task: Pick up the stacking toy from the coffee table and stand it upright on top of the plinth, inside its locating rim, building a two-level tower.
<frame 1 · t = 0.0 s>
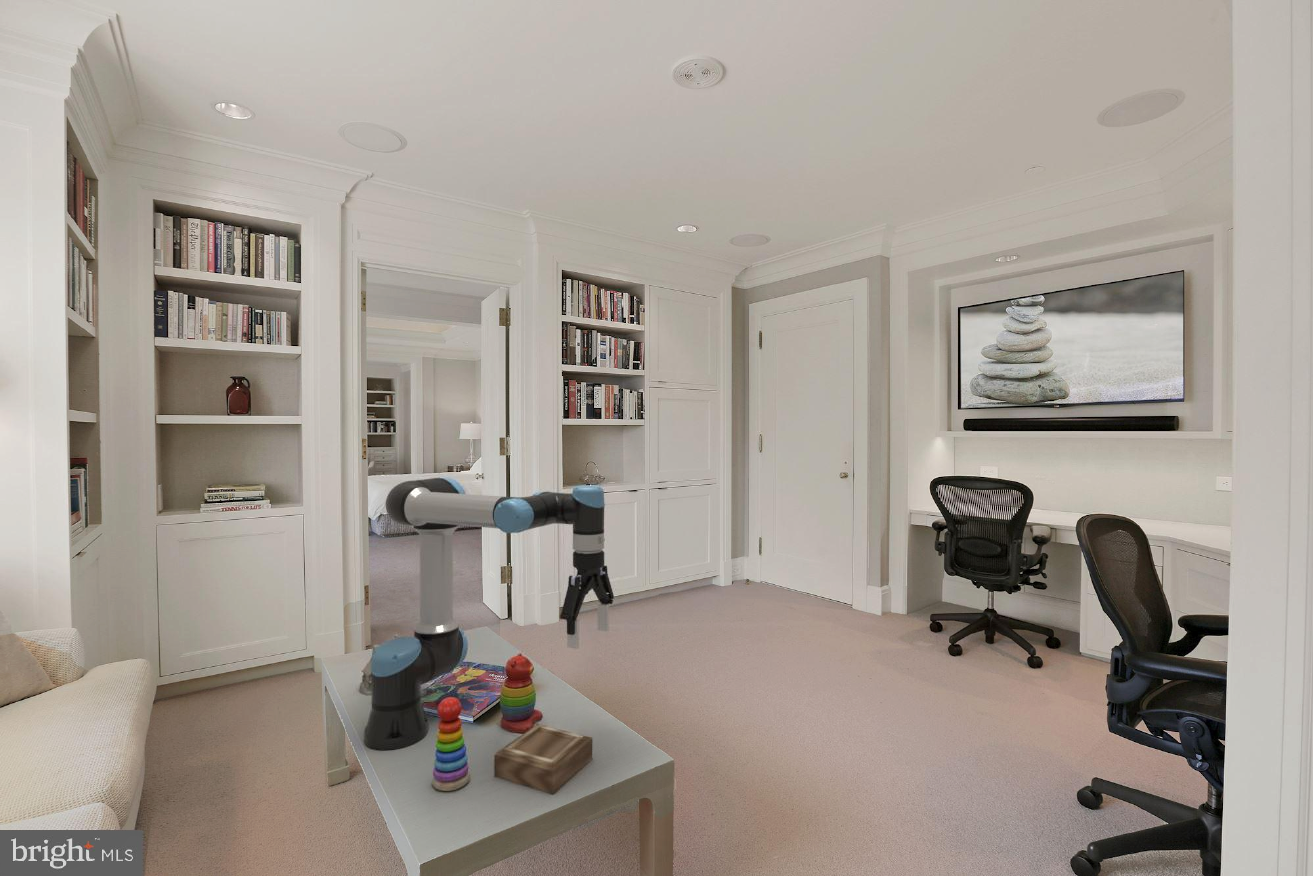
hand: (588, 638, 149), 28 cm above the table, fingers open, 13 cm apart
stacking toy: (451, 783, 138), on the table
ceramic cottage: (390, 689, 188), on the table
plinth: (544, 767, 144), on the table
stacking bear: (519, 723, 166), on the table
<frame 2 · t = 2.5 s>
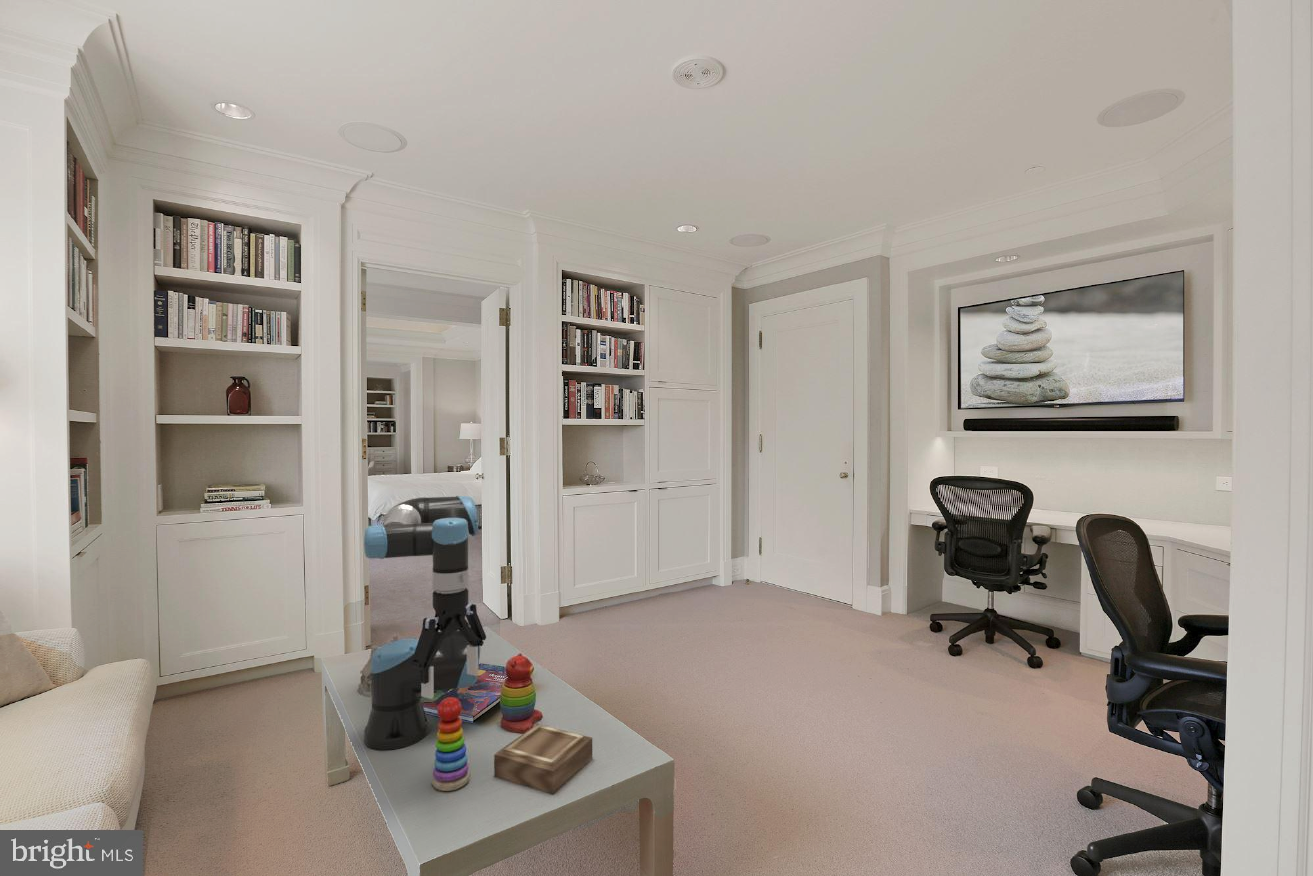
hand: (451, 685, 137), 22 cm above the table, fingers open, 13 cm apart
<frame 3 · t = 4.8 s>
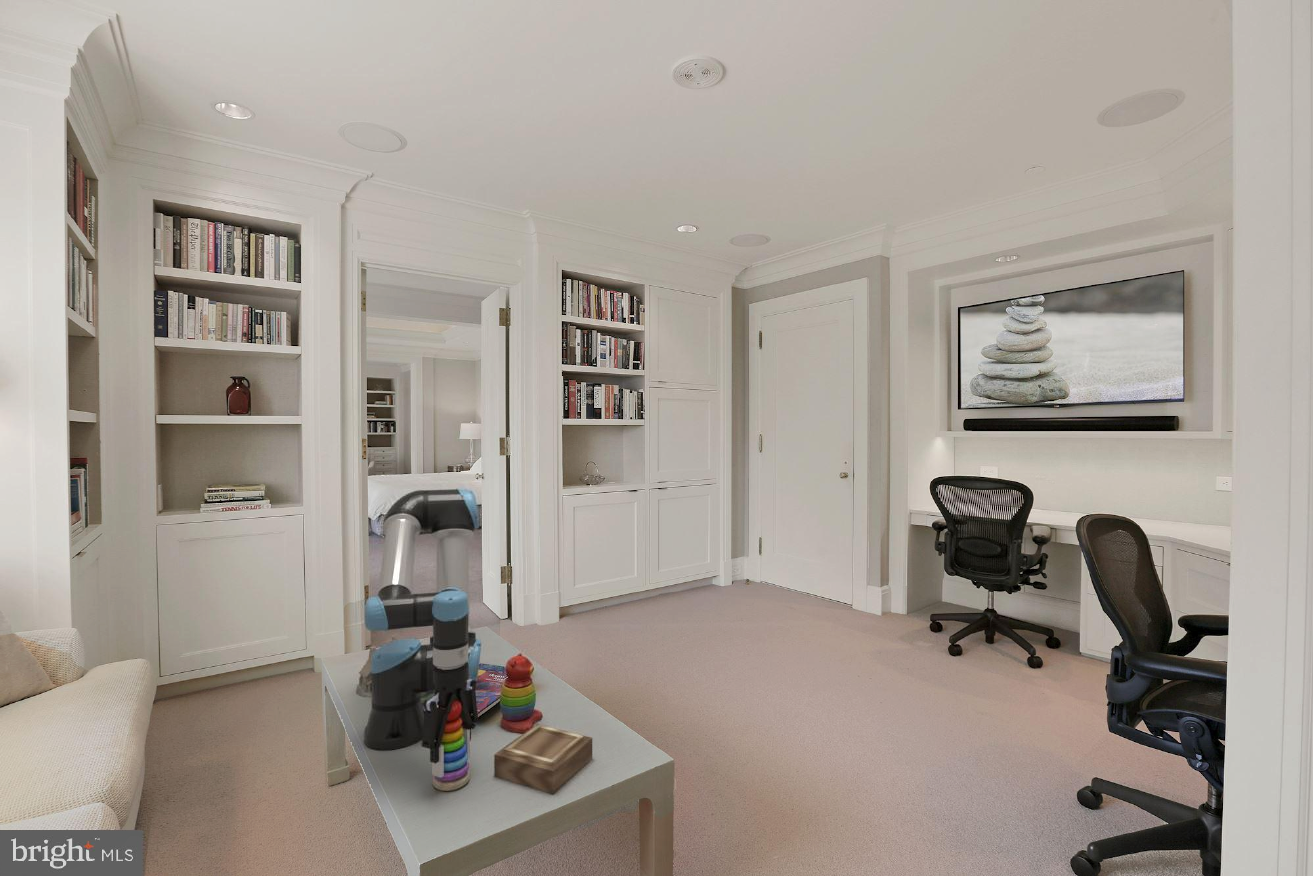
hand: (451, 766, 138), 4 cm above the table, fingers closed on stacking toy, 7 cm apart
stacking toy: (451, 783, 138), on the table, touching gripper
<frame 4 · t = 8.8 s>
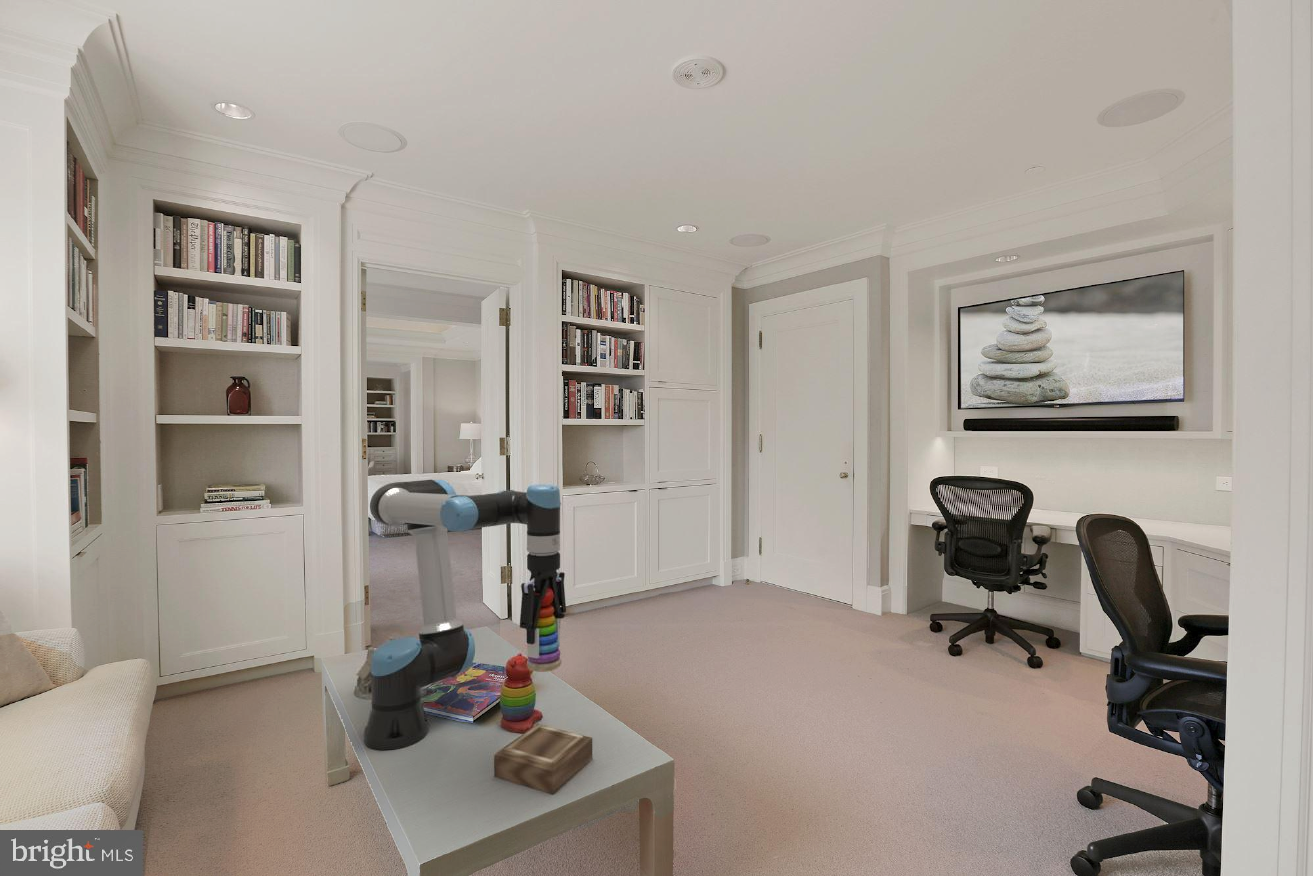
hand: (543, 651, 143), 27 cm above the table, fingers closed on stacking toy, 7 cm apart
stacking toy: (544, 667, 144), point 23 cm above the table, touching gripper
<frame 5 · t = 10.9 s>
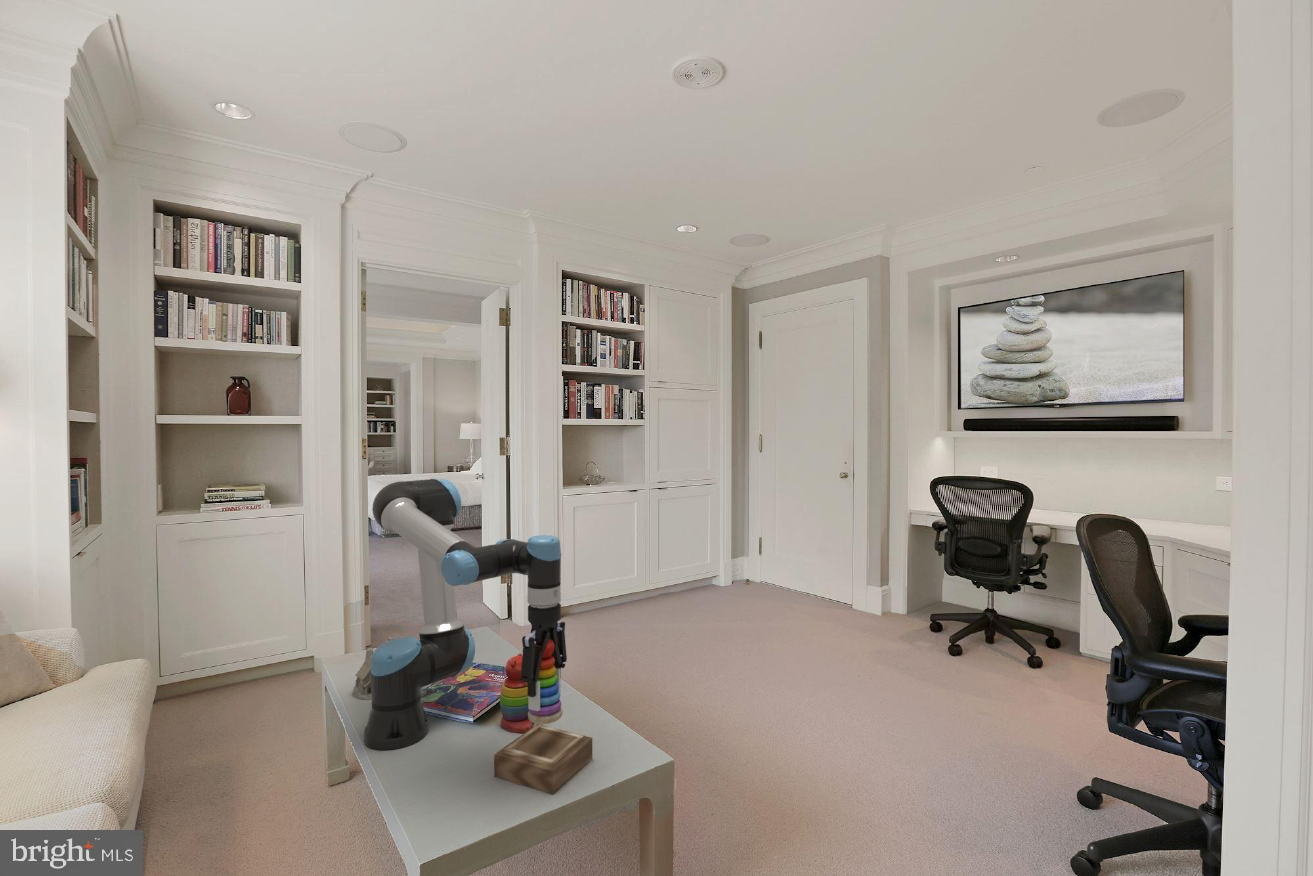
hand: (544, 702, 144), 15 cm above the table, fingers closed on stacking toy, 7 cm apart
stacking toy: (545, 718, 144), point 11 cm above the table, touching gripper
when the fingers open (10 cm above the table, at t = 12.8 s): stacking toy drops 1 cm, resting on plinth.
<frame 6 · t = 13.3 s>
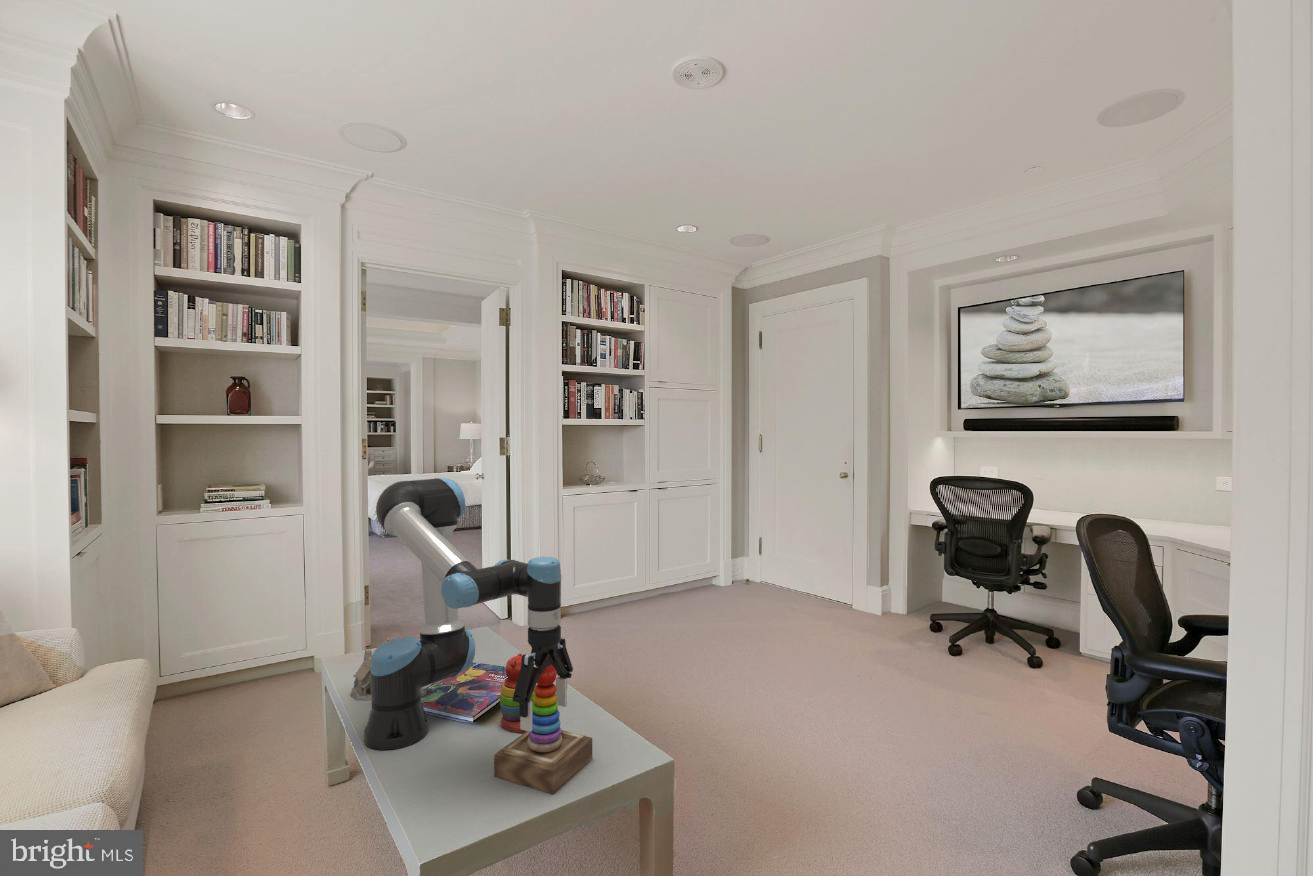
hand: (544, 717, 144), 12 cm above the table, fingers open, 13 cm apart
stacking toy: (544, 745, 144), point 5 cm above the table, touching plinth
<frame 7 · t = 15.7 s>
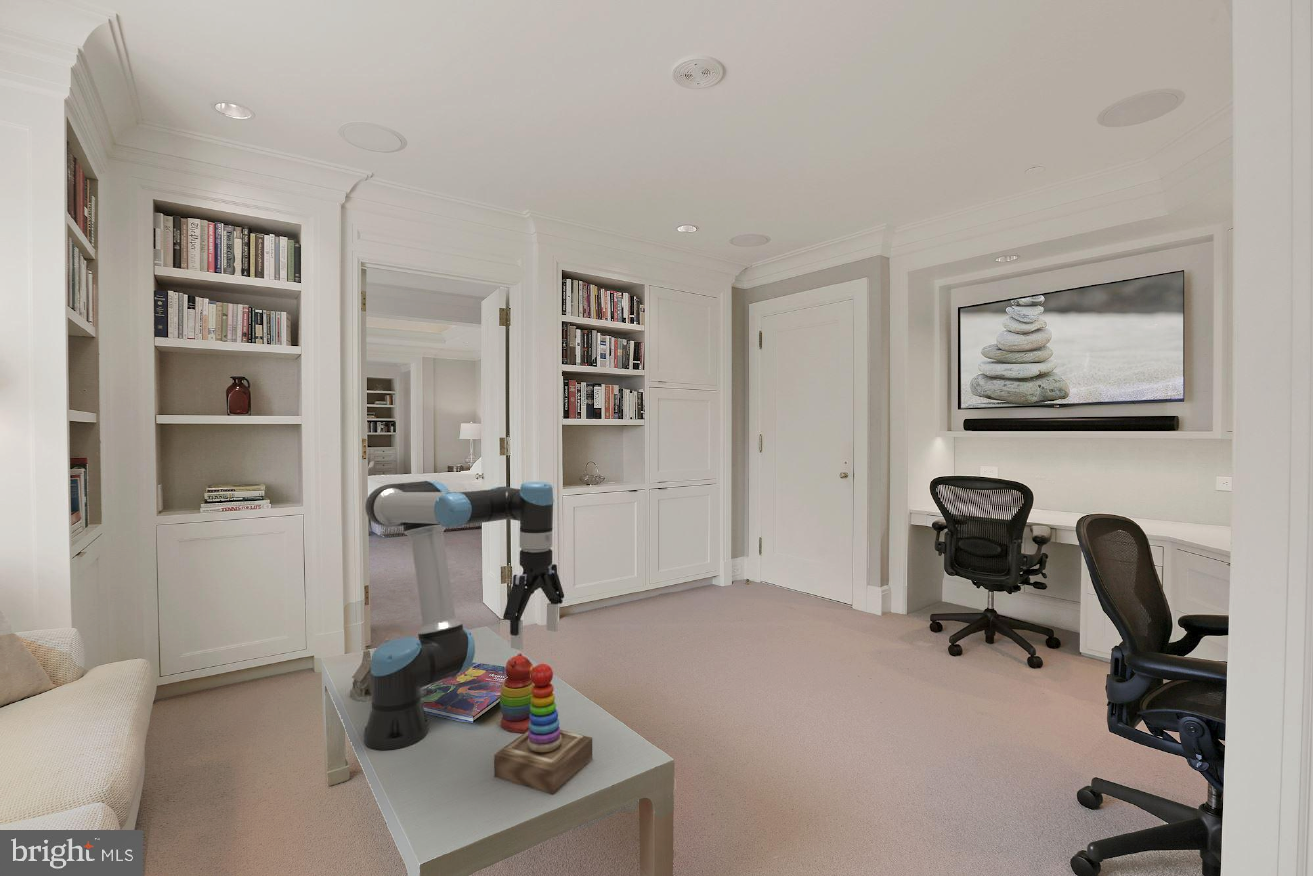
hand: (535, 639, 145), 29 cm above the table, fingers open, 13 cm apart
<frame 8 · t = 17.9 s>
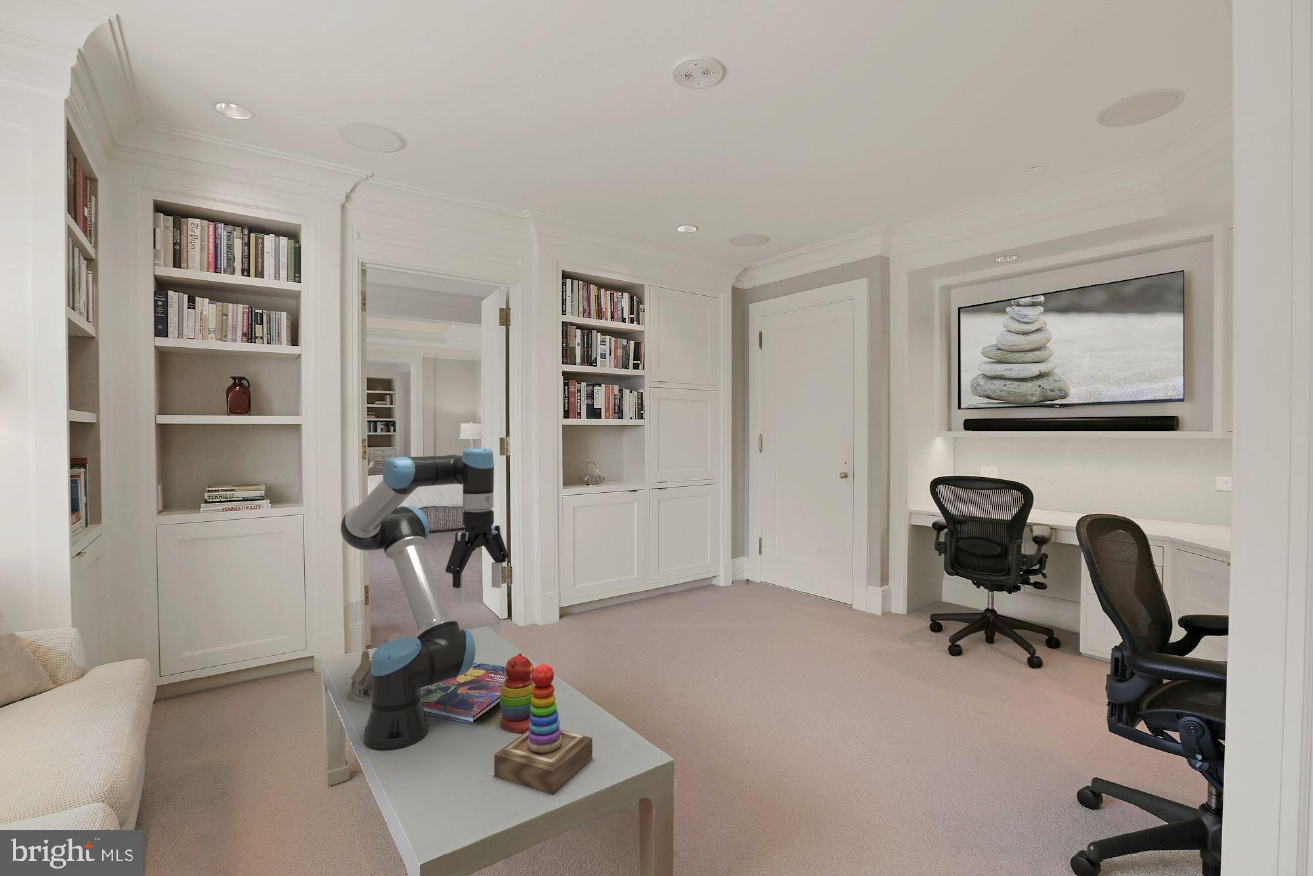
hand: (478, 593, 157), 37 cm above the table, fingers open, 13 cm apart
at the end: stacking toy 0.1 cm off-centre on the plinth, point 4.8 cm above the plinth's base; stacking toy tilted 1°; the gripper is holding nothing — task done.
